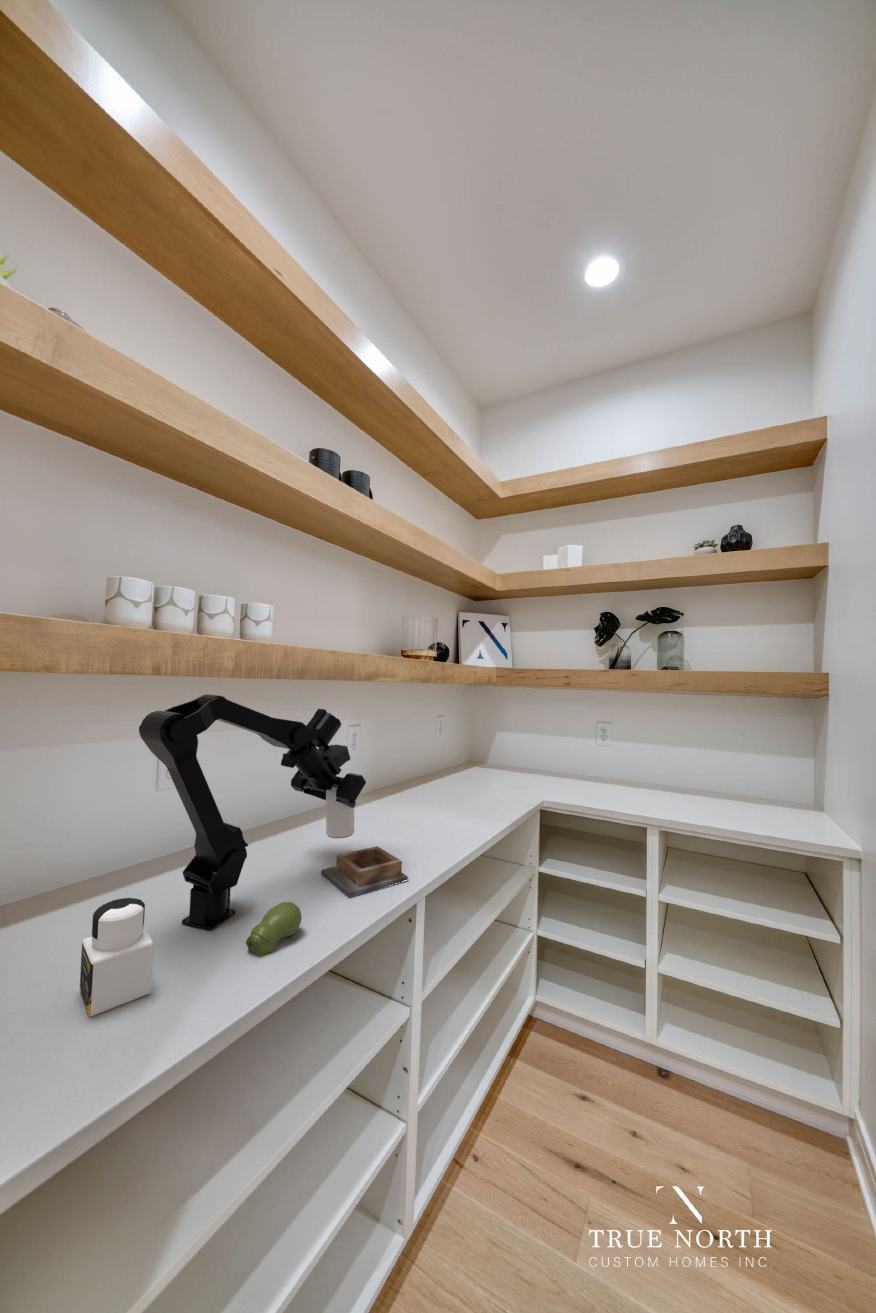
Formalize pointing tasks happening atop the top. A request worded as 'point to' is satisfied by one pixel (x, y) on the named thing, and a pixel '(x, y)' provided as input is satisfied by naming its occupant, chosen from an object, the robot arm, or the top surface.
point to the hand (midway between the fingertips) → (344, 803)
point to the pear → (274, 928)
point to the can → (338, 817)
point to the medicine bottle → (116, 957)
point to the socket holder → (364, 871)
